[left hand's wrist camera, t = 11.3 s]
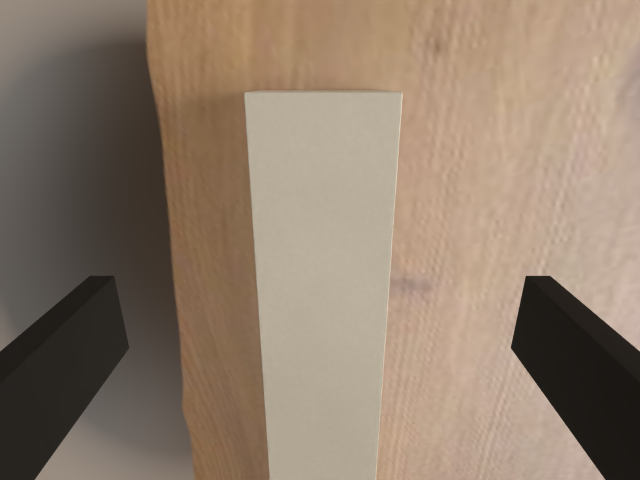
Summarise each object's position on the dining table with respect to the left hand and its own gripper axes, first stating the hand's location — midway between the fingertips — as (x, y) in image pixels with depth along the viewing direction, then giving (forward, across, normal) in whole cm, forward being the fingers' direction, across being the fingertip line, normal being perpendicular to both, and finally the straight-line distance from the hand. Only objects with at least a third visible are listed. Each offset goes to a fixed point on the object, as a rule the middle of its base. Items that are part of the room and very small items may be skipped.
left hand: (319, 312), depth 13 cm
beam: (+20, 0, -25) cm, 32 cm away
